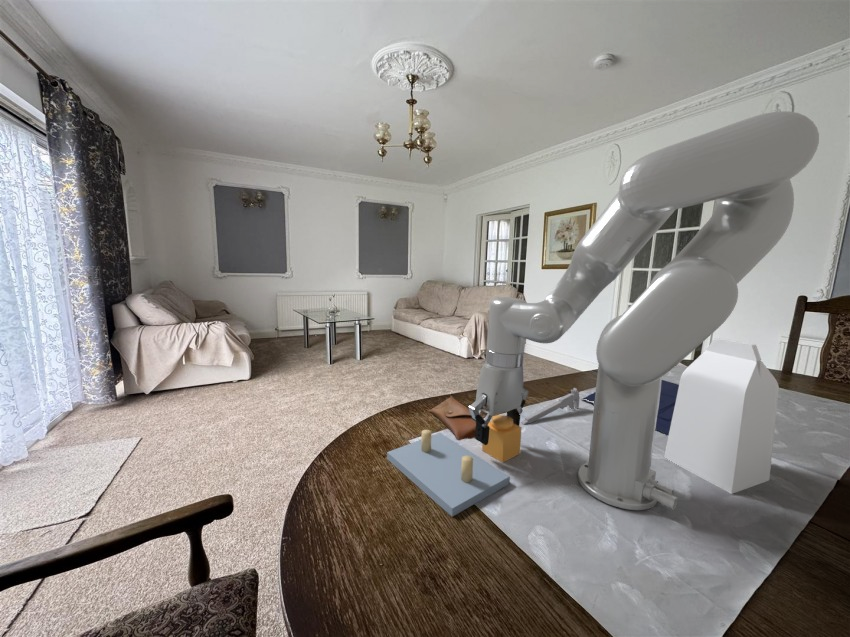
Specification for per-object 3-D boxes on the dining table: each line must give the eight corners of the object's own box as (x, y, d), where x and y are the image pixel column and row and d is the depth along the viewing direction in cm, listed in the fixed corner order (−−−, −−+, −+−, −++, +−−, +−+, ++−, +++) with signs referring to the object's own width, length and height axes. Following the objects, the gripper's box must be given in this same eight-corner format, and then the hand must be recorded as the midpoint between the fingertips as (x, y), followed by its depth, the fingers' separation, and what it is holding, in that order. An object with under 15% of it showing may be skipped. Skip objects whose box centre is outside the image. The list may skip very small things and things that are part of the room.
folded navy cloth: (728, 407, 95) (730, 395, 94) (668, 445, 81) (669, 432, 80) (639, 380, 116) (639, 370, 115) (579, 407, 102) (580, 396, 101)
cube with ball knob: (519, 453, 72) (521, 421, 71) (502, 462, 69) (504, 428, 68) (499, 442, 77) (501, 411, 76) (482, 450, 74) (483, 418, 72)
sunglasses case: (425, 410, 93) (436, 388, 94) (444, 418, 96) (455, 397, 97) (458, 441, 77) (472, 415, 78) (480, 450, 80) (493, 424, 81)
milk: (663, 457, 72) (680, 336, 67) (699, 448, 76) (717, 333, 71) (731, 493, 61) (756, 351, 56) (769, 480, 65) (794, 346, 60)
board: (509, 483, 63) (511, 456, 62) (452, 516, 54) (452, 485, 53) (439, 438, 78) (440, 416, 77) (387, 459, 70) (387, 433, 69)
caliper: (575, 408, 97) (577, 386, 96) (578, 409, 96) (580, 387, 95) (521, 424, 87) (522, 400, 86) (524, 426, 86) (525, 401, 85)
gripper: (516, 348, 78) (509, 418, 81) (460, 359, 68) (455, 438, 71) (545, 356, 72) (536, 431, 75) (489, 370, 62) (481, 456, 65)
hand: (497, 435), depth 73 cm, fingers open, 9 cm apart
